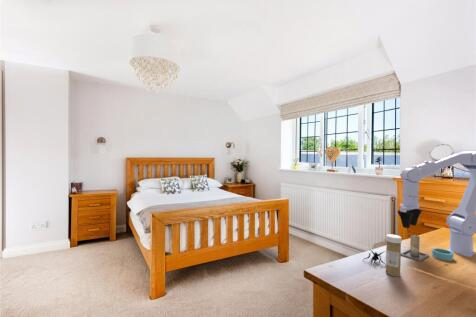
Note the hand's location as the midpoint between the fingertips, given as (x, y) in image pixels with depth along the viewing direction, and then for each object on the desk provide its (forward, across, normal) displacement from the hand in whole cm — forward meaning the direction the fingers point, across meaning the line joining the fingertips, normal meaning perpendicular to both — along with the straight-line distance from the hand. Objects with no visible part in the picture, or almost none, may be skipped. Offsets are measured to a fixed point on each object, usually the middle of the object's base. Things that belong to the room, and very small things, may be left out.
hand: (409, 226), depth 109 cm
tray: (+10, +7, +4) cm, 13 cm away
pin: (+10, +7, +5) cm, 13 cm away
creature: (+11, +27, -2) cm, 29 cm away
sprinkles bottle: (+11, +30, +6) cm, 32 cm away
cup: (+10, -1, +12) cm, 16 cm away
